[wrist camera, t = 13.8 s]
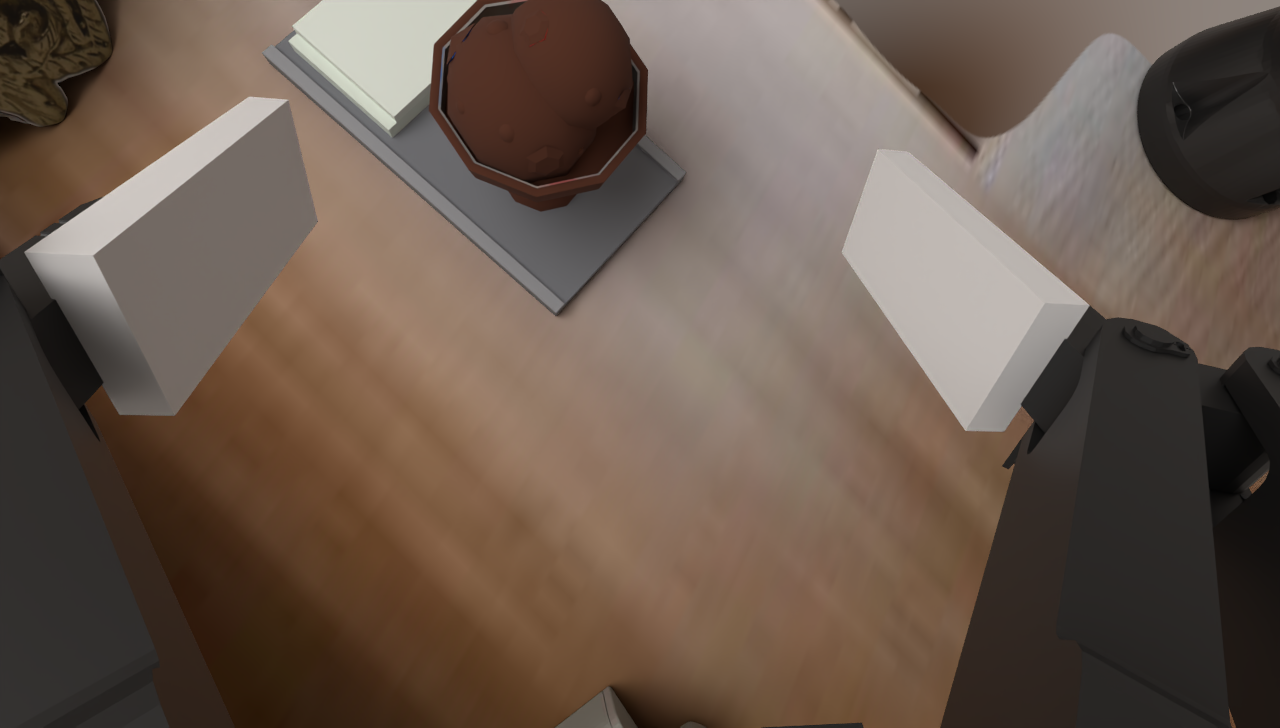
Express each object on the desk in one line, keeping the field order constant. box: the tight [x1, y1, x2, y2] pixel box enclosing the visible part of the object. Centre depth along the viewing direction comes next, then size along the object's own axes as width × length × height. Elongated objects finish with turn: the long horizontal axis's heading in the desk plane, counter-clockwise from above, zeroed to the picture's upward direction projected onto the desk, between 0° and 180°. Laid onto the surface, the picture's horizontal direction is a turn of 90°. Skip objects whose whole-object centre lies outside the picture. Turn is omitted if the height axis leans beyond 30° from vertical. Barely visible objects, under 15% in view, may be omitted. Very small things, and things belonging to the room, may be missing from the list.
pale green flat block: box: [288, 0, 477, 138], centre depth 38 cm, size 8×10×2 cm
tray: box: [262, 30, 686, 316], centre depth 40 cm, size 24×13×1 cm, turn 49°
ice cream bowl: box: [429, 0, 648, 212], centre depth 32 cm, size 11×11×15 cm
